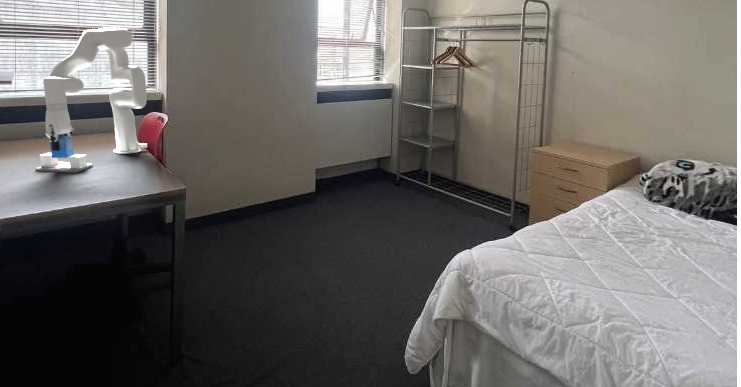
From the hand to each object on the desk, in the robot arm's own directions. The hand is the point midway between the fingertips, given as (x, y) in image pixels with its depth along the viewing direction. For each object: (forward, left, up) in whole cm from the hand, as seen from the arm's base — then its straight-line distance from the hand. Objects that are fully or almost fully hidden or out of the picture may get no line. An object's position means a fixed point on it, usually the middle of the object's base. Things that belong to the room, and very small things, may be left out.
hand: (62, 148), depth 229 cm
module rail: (0, 0, -9) cm, 9 cm away
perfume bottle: (0, 0, -4) cm, 4 cm away
